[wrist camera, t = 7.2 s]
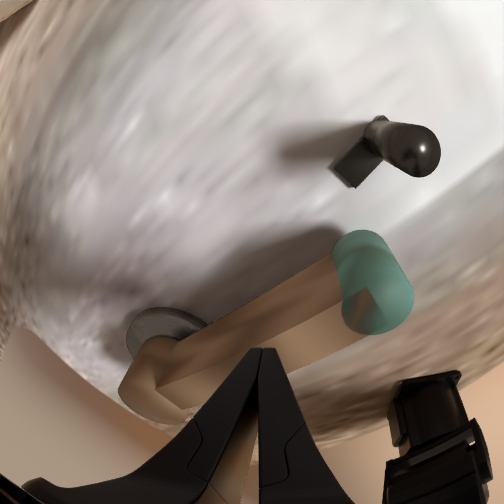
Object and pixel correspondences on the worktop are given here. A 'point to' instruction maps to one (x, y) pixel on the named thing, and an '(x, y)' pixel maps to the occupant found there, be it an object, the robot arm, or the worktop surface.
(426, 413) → the robot arm
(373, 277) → the capstan lever
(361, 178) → the dark grey pieces
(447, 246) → the worktop surface
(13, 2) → the lidded bowl
